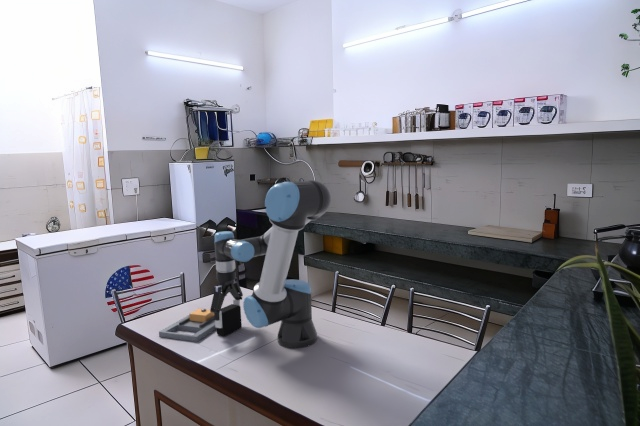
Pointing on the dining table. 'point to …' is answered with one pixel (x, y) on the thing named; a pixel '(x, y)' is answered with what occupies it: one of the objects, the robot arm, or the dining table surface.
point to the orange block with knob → (201, 315)
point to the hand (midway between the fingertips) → (228, 321)
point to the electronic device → (230, 320)
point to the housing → (189, 329)
